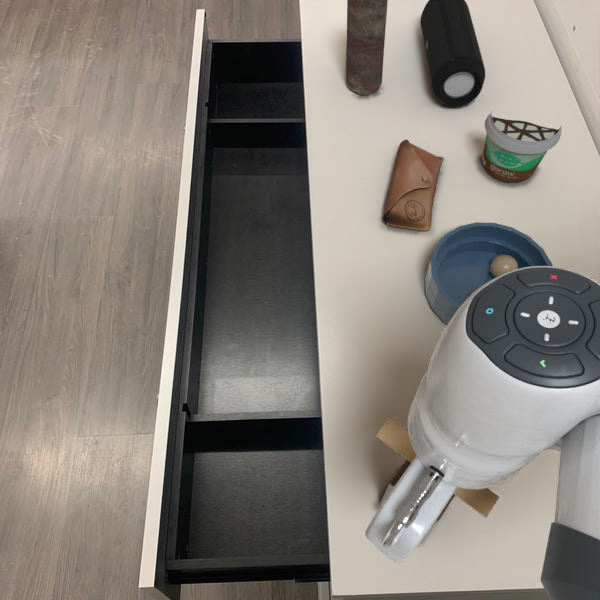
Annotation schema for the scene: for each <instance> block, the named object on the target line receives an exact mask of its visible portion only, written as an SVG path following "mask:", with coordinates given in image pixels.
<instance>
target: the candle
mask: <svg viewBox="0 0 600 600" xmlns="http://www.w3.org/2000/svg"><path fill="white" fill-rule="evenodd" d="M387 14H388V0H347V1H346V46H345V83H346V85H347V86H348V88H349V89H350V90H351V91H353V92H355V93H357V94H358V95H360V96H370V95H372V94H373V93H376V92H378V91H379V89H380V87H381V86H382V83H383V73H384V72H383V71H384V55H385V40H386V26H387Z"/></svg>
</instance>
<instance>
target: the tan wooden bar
mask: <svg viewBox="0 0 600 600" xmlns="http://www.w3.org/2000/svg"><path fill="white" fill-rule="evenodd" d="M376 438H377V439H378V440H380V441H381V442H383V443H384V444H385V445H386V446H388V447H389V448H391V449H392V450H393V451H395V452H397V454H398V455H400V456H402V458H403V459H405V460H406V459H407V460H408V461H410V462H411V463H412V461H413V460H414V458H415V457H416V456H417V455H416V453H415V452H414V450H413V447H412V445H411V442H410V439H409V434H408V429H406V428H405V427H403V426H402V425H401V424H399V423H398V422H397V421H395V420H394V419H392V418H391V417H388V418H387V419H386V421H385V422H384V424H382V426H381V427H380V429H379V431H378V432H377V433H376ZM454 495H455V497H457V498H458V499H459V500H460V501H461V502H463V503H464V504H466V505H467V506H469V507H470V508H471V509H472V510H474V511H475V512H477V513H478V514H479V515H480V516H482V517H483V518H487V517H488V515H489V514H490V513H491V511H492V510H493V508H494V506H495V505H496V504H497V502H498V500H499V499H500V496H499V495H498V494H497V493H496V492H494V491H492V490H491V489H489V488H485V489H465V488H460V487H458V488H457V489H456V491H455V492H454Z"/></svg>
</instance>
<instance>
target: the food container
mask: <svg viewBox="0 0 600 600" xmlns="http://www.w3.org/2000/svg"><path fill="white" fill-rule="evenodd" d="M492 114H493V111H491V112H490V114H488V115H487V117H486V118H485V120H484V130H485V132H486V135H485V141H484V145H483V151H482V156H481V165H482V168H483V170H484V171H485V173H486V174H487V175H488V176H489V177H491V178H492V179H494V180H495V181H498V182H501V183H504V184H519V183H523V182H525V181H527V180H529V179H530V178H531V177H532V176H533V175H534V173H535V171H536V170H537V168H538V167H539V165H540V164H541V162H542V160H543V159H544V157H545V156H546V154H547V153H548V151H550V150H551V149H553V147H555V146H556V145H557V144H558V143H559V141H560V140H561V136H562V131H563V128H562V126H563V125H562V124H561V125H560V127H559V128H551V127H545V126H542V125H538V124H535V123H532V122H530V121H525V120H518V119H517V120H515V119H505V118H500V117H495V116H493V115H492Z"/></svg>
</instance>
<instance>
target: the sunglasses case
mask: <svg viewBox="0 0 600 600" xmlns="http://www.w3.org/2000/svg"><path fill="white" fill-rule="evenodd" d="M396 153H397V154H396V156H395V161H394V165H393V170H392V174H391V178H390V182H389V186H388V190H387V193H386V194H387V195H386V199H385V203H384V207H383V212H382V221H383V223H384V224H385V225H386V226H387V227H393V228H397V229H402V230H410V231H417V232H418V231H419V232H428V231H430V230H431V227H432V216H433V207H434V201H435V194H436V190H437V184H438V179H439V176H440V171H441V168H442V164H443V162H444V157H442V156H437V155H435V154H433V153H431V152H429V151H427V150H425V149H423V148H422V147H420V146H417V145H415V144H413V143H412V142H410V141H409V139H404V140H402V141H401V142H400V143H399V145H398V150H397V152H396Z"/></svg>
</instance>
